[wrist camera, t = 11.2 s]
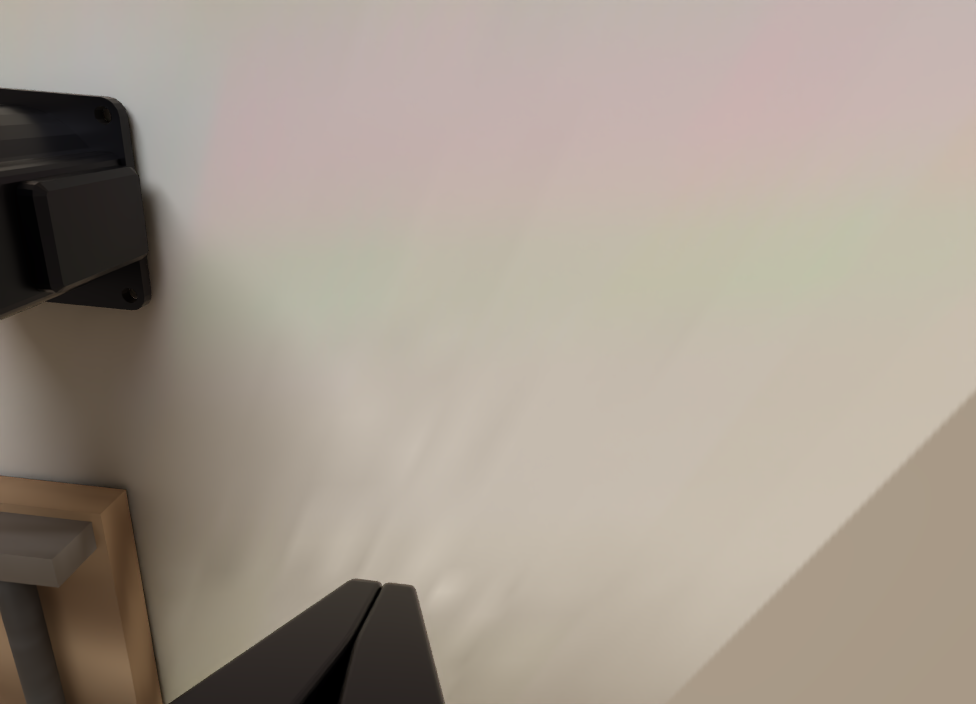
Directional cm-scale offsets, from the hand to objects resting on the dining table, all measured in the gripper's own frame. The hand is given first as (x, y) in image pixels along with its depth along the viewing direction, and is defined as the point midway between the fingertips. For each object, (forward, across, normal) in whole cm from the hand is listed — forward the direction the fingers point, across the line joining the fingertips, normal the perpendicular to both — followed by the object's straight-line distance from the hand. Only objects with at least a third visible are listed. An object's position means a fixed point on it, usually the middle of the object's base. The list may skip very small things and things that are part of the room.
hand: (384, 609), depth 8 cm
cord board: (+13, -16, -18) cm, 28 cm away
